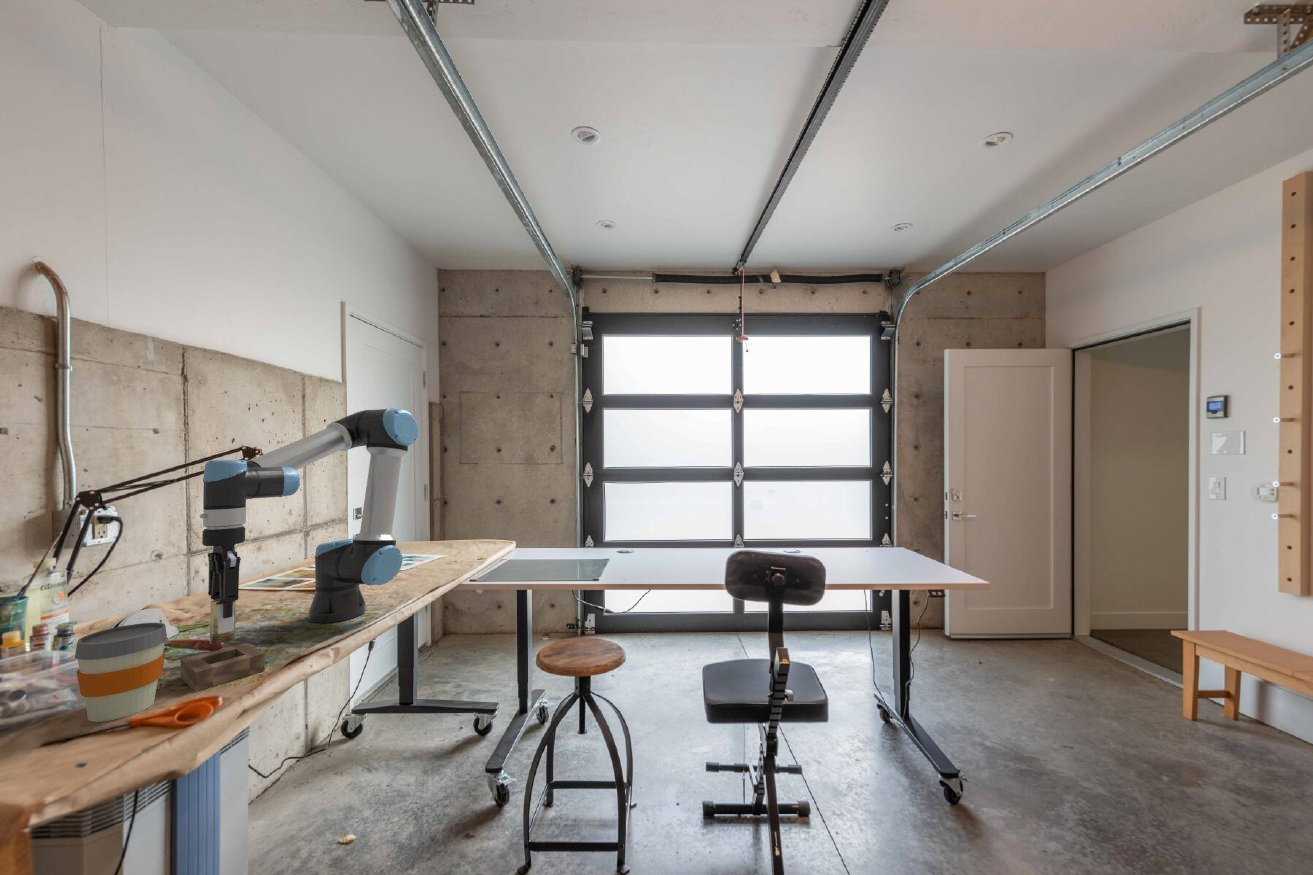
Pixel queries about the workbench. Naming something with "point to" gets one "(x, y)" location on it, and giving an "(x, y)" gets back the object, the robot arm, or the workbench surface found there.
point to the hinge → (147, 620)
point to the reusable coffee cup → (120, 669)
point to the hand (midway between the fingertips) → (222, 629)
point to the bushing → (214, 635)
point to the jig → (221, 666)
